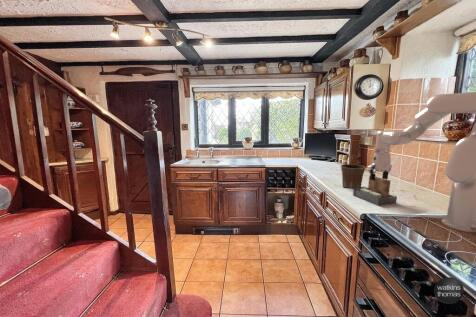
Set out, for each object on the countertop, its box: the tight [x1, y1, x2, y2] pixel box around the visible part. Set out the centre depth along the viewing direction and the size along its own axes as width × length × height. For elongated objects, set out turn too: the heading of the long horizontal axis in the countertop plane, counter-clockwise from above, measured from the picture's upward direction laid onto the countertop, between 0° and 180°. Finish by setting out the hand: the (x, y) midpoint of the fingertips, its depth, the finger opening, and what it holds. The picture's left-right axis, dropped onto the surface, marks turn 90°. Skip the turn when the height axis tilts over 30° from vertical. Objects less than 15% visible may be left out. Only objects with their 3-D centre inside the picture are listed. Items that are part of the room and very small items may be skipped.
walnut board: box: [367, 175, 391, 197], centre depth 136 cm, size 12×3×13 cm, turn 16°
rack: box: [352, 187, 398, 207], centre depth 136 cm, size 18×14×5 cm
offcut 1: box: [359, 188, 372, 194], centre depth 139 cm, size 6×4×5 cm, turn 15°
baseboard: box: [390, 189, 418, 201], centre depth 138 cm, size 31×3×12 cm
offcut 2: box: [369, 192, 382, 198], centre depth 133 cm, size 6×4×5 cm, turn 16°
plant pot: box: [340, 163, 366, 190], centre depth 163 cm, size 16×16×16 cm
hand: (378, 179), depth 136 cm, fingers open, 9 cm apart
